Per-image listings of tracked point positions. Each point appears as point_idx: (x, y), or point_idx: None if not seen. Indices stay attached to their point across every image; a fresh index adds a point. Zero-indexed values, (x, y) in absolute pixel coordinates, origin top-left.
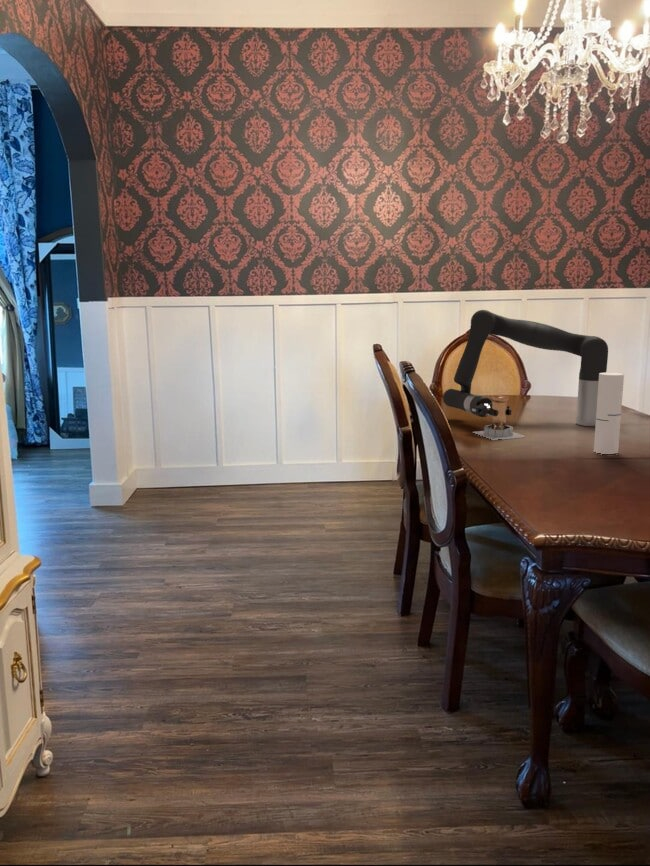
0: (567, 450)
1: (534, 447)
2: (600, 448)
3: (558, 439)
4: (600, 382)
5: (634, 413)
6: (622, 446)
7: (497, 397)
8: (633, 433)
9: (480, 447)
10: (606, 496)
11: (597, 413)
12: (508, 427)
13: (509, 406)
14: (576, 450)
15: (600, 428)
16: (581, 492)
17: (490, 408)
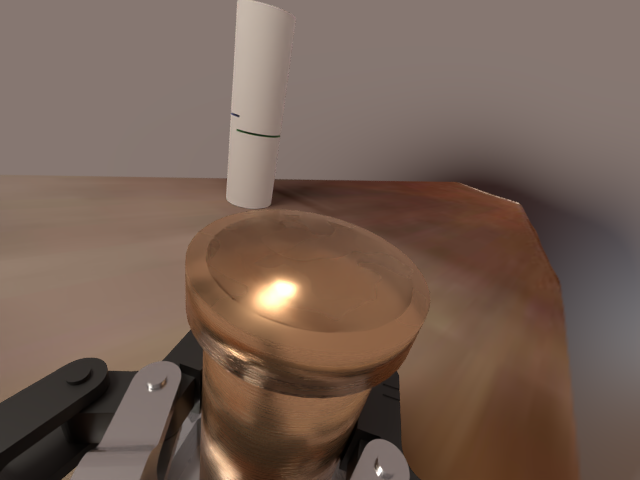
0: None
1: None
2: (272, 192)
3: (163, 269)
4: (290, 40)
5: None
6: (167, 190)
7: (378, 256)
8: None
9: (497, 368)
10: (422, 191)
11: (277, 123)
12: (190, 434)
13: (76, 361)
14: None
15: (277, 154)
16: (438, 200)
17: (373, 440)
